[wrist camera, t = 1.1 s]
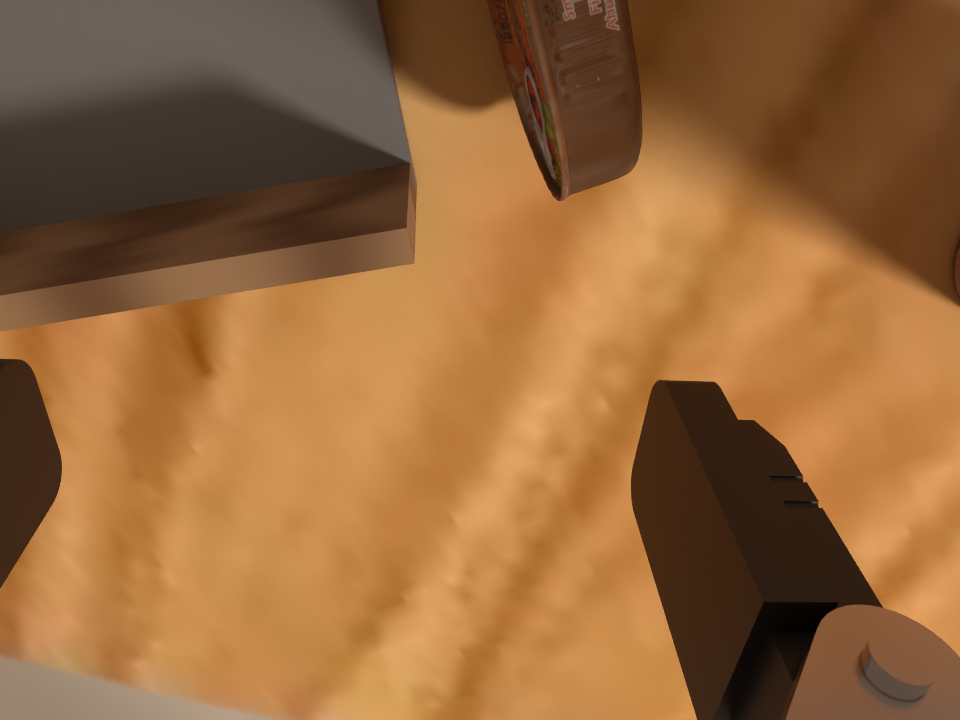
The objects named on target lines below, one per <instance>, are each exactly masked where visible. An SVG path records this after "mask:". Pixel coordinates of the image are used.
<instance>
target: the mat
mask: <svg viewBox="0 0 960 720" xmlns="http://www.w3.org/2000/svg"><path fill="white" fill-rule="evenodd" d="M408 163H410V165H411V170H412V174H413V179H414V184H415V189H416V193H417V183H416V178H415V173H414V168H413V164H412V159H411V154H410V149H409V144H408V139H407V135H406V130H405V125H404V120H403V115H402V110H401V106H400V101H399V96H398V91H397V86H396V81H395V77H394V72H393V67H392V62H391V57H390V53H389V48H388V43H387V38H386V33H385V28H384V24H383V19H382V14H381V9H380V4H379V0H0V232H6V231H12V230H18V229H24V228H30V227H36V226H42V225H47V224H53V223H59V222H65V221H71V220H77V219H83V218H89V217H95V216H101V215H106V214H112V213H118V212H124V211H130V210H136V209H142V208H148V207H154V206H160V205H166V204H171V203H177V202H183V201H189V200H195V199H201V198H207V197H213V196H219V195H225V194H231V193H236V192H242V191H248V190H254V189H260V188H266V187H272V186H278V185H284V184H290V183H296V182H301V181H307V180H313V179H319V178H325V177H331V176H337V175H343V174H349V173H355V172H361V171H366V170H372V169H378V168H384V167H390V166H396V165H402V164H408Z"/></svg>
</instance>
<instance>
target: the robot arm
mask: <svg viewBox="0 0 960 720" xmlns="http://www.w3.org/2000/svg"><path fill="white" fill-rule="evenodd" d="M954 274H955V281H956V288H957V292H958V294H959V296H960V246H959V249H958V252H957V256H956V264H955V272H954ZM61 474H62V462H61V455H60V451H59V448H58V445H57V442H56V439H55V436H54V433H53V430H52V427H51V423H50V420H49V417H48V414H47V411H46V408H45V405H44V402H43V399H42V396H41V393H40V390H39V387H38V383H37V380H36V377H35V375H34V372H33V370H32V369H31V367H30V366H29V365H28V364H27V363H26V362H25V361H22V360H17V359H0V588H1V586H2V585H3V583H4V582H5V580H6V578H7V577H8V575H9V574H10V572H11V570H12V569H13V567H14V565H15V564H16V562H17V561H18V559H19V557H20V556H21V554H22V553H23V551H24V549H25V548H26V546H27V544H28V543H29V541H30V540H31V538H32V536H33V535H34V533H35V532H36V530H37V528H38V527H39V525H40V523H41V522H42V520H43V519H44V517H45V515H46V514H47V512H48V511H49V509H50V507H51V506H52V504H53V502H54V500H55V498H56V496H57V493H58V490H59V486H60V482H61ZM631 497H632V505H633V511H634V514H635V518H636V521H637V524H638V528H639V531H640V534H641V537H642V541H643V544H644V547H645V550H646V554H647V557H648V560H649V563H650V567H651V570H652V573H653V577H654V580H655V583H656V586H657V590H658V593H659V596H660V599H661V603H662V606H663V609H664V612H665V616H666V619H667V622H668V625H669V629H670V632H671V635H672V639H673V642H674V645H675V648H676V652H677V655H678V658H679V661H680V665H681V668H682V671H683V674H684V678H685V681H686V684H687V687H688V691H689V694H690V697H691V701H692V704H693V707H694V710H695V714H696V717H697V720H960V657H959V656H958V655H957V654H956V652H955V651H954V650H953V649H952V648H951V647H949V646H948V645H947V644H946V643H945V642H944V641H943V640H942V639H941V638H939V637H938V636H937V635H936V634H934V633H933V632H932V631H930V630H929V629H927V628H926V627H924V626H923V625H921V624H920V623H918V622H916V621H914V620H912V619H910V618H908V617H906V616H904V615H902V614H899V613H897V612H894V611H891V610H888V609H885V608H883V607H882V605H881V604H880V602H879V600H878V599H877V597H876V595H875V594H874V592H873V590H872V589H871V587H870V585H869V584H868V582H867V581H866V579H865V577H864V576H863V574H862V572H861V571H860V569H859V567H858V566H857V564H856V562H855V561H854V559H853V558H852V556H851V554H850V553H849V551H848V549H847V548H846V546H845V544H844V543H843V541H842V539H841V538H840V536H839V535H838V533H837V531H836V530H835V528H834V526H833V525H832V523H831V521H830V520H829V518H828V516H827V515H826V513H825V511H824V510H823V508H819V507H818V500H817V498H816V497H815V495H814V493H813V492H812V490H811V488H810V487H809V485H808V484H807V482H803V475H802V474H801V472H800V470H799V469H798V467H797V465H796V464H795V462H794V461H793V459H792V457H791V456H790V454H789V452H788V451H787V449H786V447H785V446H784V445H783V444H781V443H780V442H779V441H778V440H777V439H776V438H774V437H773V436H772V435H771V434H770V433H768V432H767V431H766V430H765V429H764V428H763V427H761V426H760V425H759V424H758V423H757V422H755V421H754V420H738V419H737V417H736V415H735V413H734V412H733V410H732V408H731V406H730V404H729V403H728V401H727V399H726V397H725V395H724V394H723V392H722V390H721V388H720V387H719V385H718V384H717V383H715V382H703V381H670V380H659V381H657V382H656V383H655V384H654V386H653V388H652V391H651V394H650V398H649V402H648V406H647V410H646V414H645V418H644V422H643V426H642V431H641V435H640V439H639V443H638V447H637V451H636V455H635V460H634V464H633V468H632V476H631Z"/></svg>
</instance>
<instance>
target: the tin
mask: <svg viewBox="0 0 960 720" xmlns="http://www.w3.org/2000/svg"><path fill="white" fill-rule="evenodd" d="M487 1H488V5H489V9H490V13H491V17H492V21H493V24H494V28H495V32H496V36H497V40H498V43H499V47H500V51H501V55H502V59H503V62H504V66H505V69H506V73H507V76H508V80H509V82H510V86H511V90H512V93H513V97H514V100H515V103H516V106H517V109H518V112H519V116H520V119H521V122H522V124H523V128H524V131H525V133H526V136H527V139H528V141H529V144H530V147H531V149H532V151H533V154H534V157H535V159H536V162H537V164H538V167H539V169H540V171H541V173H542V175H543V177H544V180H545V182H546V184H547V186H548V188H549V190H550V191H551V193H552V195H553V197H554V198H556V200H558V201H562V200H564V199H566V198H567V197H568V196H569V195H572V194H574V193H577V192H580V191H583V190H586V189H589V188H592V187H595V186H598V185H601V184H604V183H607V182H610V181H612V180H615V179H618V178H620V177H622V176H624V175H626V174H628V173H629V172H630V171H631V170H632V169H633V168H634V166H635V164H636V163H637V160H638V157H639V153H640V148H641V141H642V108H641V94H640V84H639V76H638V69H637V62H636V55H635V49H634V43H633V36H632V29H631V22H630V16H629V9H628V2H627V0H487Z"/></svg>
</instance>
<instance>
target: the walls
mask: <svg viewBox="0 0 960 720" xmlns="http://www.w3.org/2000/svg"><path fill="white" fill-rule="evenodd" d="M416 194H417V193H416V189H415V184H414V179H413V174H412V170H411V165H410V163H408V164H402V165H396V166H390V167H384V168H378V169H372V170H366V171H361V172H355V173H349V174H343V175H337V176H331V177H325V178H319V179H313V180H307V181H301V182H296V183H290V184H284V185H278V186H272V187H266V188H260V189H254V190H248V191H242V192H236V193H231V194H225V195H219V196H213V197H207V198H201V199H195V200H189V201H183V202H177V203H171V204H166V205H160V206H154V207H148V208H142V209H136V210H130V211H124V212H118V213H112V214H106V215H101V216H95V217H89V218H83V219H77V220H71V221H65V222H59V223H53V224H47V225H42V226H36V227H30V228H24V229H18V230H12V231H6V232H0V331H6V330H12V329H19V328H25V327H31V326H37V325H43V324H49V323H55V322H61V321H67V320H73V319H79V318H85V317H91V316H97V315H104V314H110V313H116V312H122V311H128V310H134V309H140V308H146V307H152V306H158V305H164V304H170V303H176V302H182V301H189V300H195V299H201V298H207V297H213V296H219V295H225V294H231V293H237V292H243V291H249V290H255V289H261V288H267V287H274V286H280V285H286V284H292V283H298V282H304V281H310V280H316V279H322V278H328V277H334V276H340V275H346V274H352V273H359V272H365V271H371V270H377V269H383V268H389V267H395V266H401V265H407V264H413V263H414V259H415V227H416Z"/></svg>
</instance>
